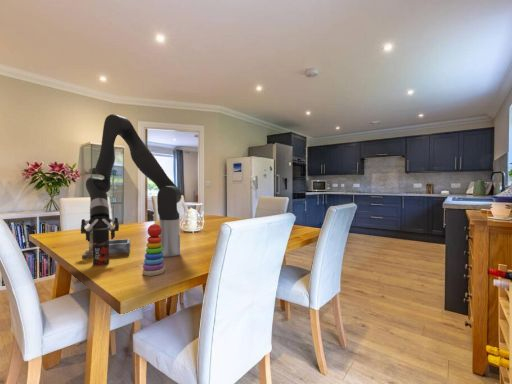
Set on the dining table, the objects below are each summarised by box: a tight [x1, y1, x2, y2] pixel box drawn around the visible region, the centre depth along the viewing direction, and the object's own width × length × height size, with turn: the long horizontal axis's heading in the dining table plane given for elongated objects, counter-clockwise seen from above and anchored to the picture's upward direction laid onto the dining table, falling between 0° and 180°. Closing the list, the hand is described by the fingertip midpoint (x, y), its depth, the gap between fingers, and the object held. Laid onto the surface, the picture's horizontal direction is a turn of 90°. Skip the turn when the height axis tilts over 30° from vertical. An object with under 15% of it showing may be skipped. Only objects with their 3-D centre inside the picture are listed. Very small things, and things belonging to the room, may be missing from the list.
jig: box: [81, 231, 131, 260], centre depth 124 cm, size 19×11×12 cm, turn 114°
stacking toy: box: [141, 223, 165, 277], centre depth 98 cm, size 8×8×19 cm
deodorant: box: [92, 228, 110, 267], centre depth 108 cm, size 6×6×15 cm
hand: (100, 239), depth 109 cm, fingers open, 8 cm apart
